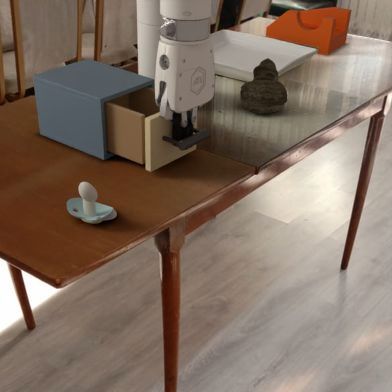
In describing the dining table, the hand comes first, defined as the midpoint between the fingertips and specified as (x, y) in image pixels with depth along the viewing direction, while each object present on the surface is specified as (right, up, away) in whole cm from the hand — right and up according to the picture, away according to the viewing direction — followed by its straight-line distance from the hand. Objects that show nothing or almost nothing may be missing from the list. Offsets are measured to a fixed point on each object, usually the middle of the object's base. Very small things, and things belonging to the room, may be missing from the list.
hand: (182, 146), depth 106 cm
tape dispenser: (+32, +48, +63) cm, 86 cm away
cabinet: (-16, +6, +12) cm, 21 cm away
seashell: (+15, +15, +25) cm, 33 cm away
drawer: (-6, +1, +5) cm, 8 cm away
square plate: (+14, +34, +46) cm, 60 cm away
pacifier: (-13, -14, -11) cm, 22 cm away
